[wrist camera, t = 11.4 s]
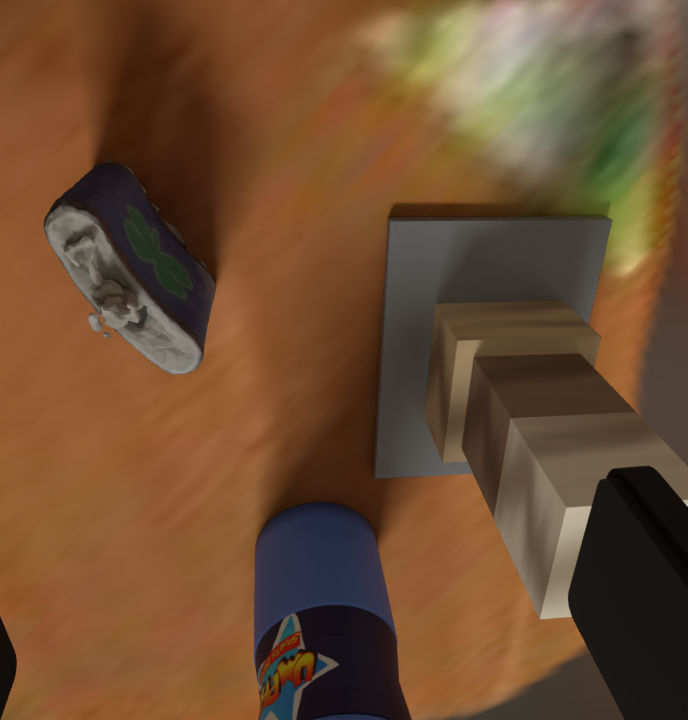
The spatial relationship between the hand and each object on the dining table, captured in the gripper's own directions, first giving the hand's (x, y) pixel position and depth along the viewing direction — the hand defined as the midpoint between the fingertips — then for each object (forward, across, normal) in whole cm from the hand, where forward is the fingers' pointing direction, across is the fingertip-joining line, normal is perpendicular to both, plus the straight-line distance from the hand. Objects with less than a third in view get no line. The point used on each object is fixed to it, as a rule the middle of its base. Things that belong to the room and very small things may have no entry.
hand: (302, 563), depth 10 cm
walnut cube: (+21, -13, +12) cm, 28 cm away
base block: (+26, -13, +13) cm, 32 cm away
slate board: (+27, -13, +13) cm, 33 cm away
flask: (+28, +6, +4) cm, 29 cm away
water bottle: (+27, -2, +28) cm, 39 cm away
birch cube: (+15, -13, +12) cm, 24 cm away
